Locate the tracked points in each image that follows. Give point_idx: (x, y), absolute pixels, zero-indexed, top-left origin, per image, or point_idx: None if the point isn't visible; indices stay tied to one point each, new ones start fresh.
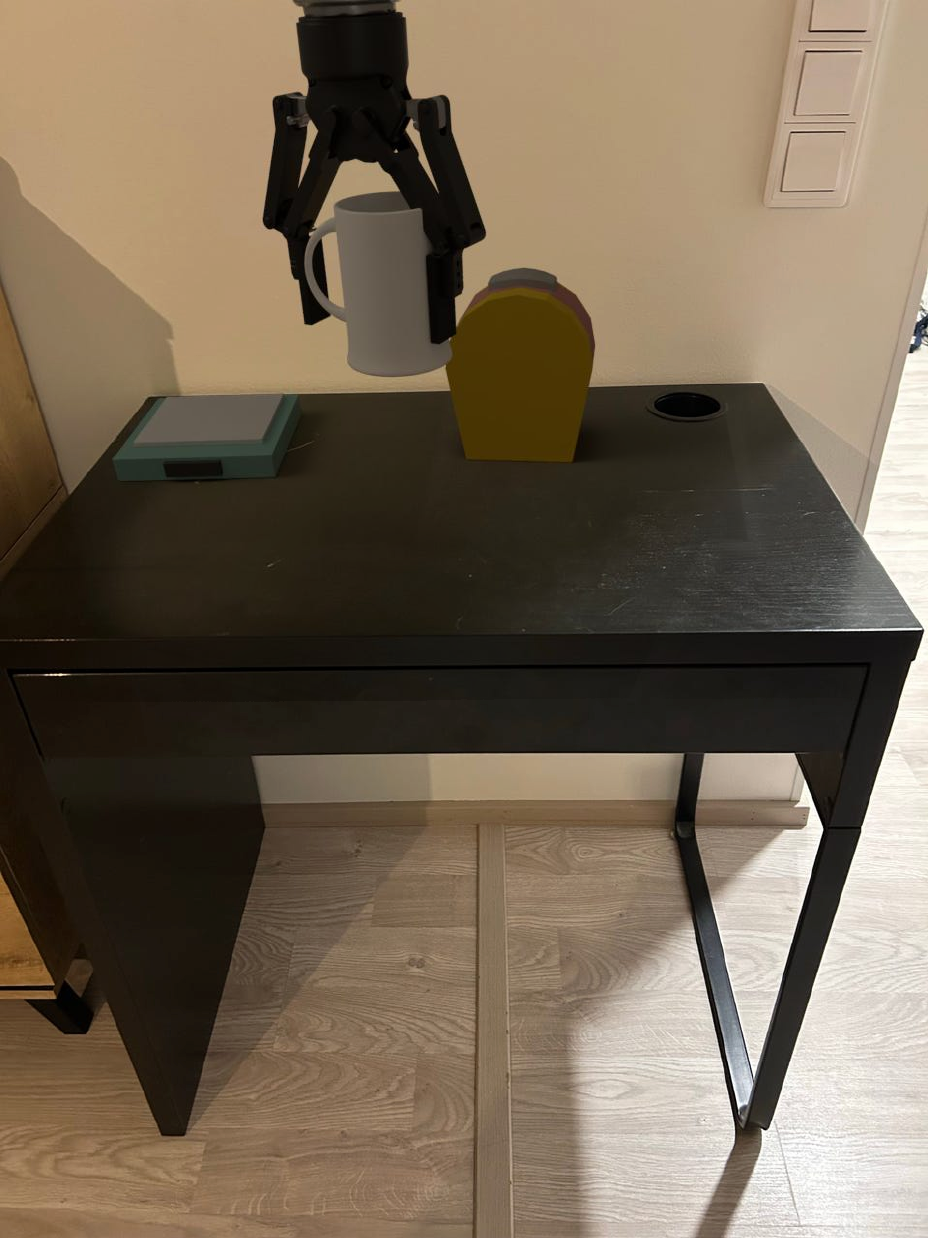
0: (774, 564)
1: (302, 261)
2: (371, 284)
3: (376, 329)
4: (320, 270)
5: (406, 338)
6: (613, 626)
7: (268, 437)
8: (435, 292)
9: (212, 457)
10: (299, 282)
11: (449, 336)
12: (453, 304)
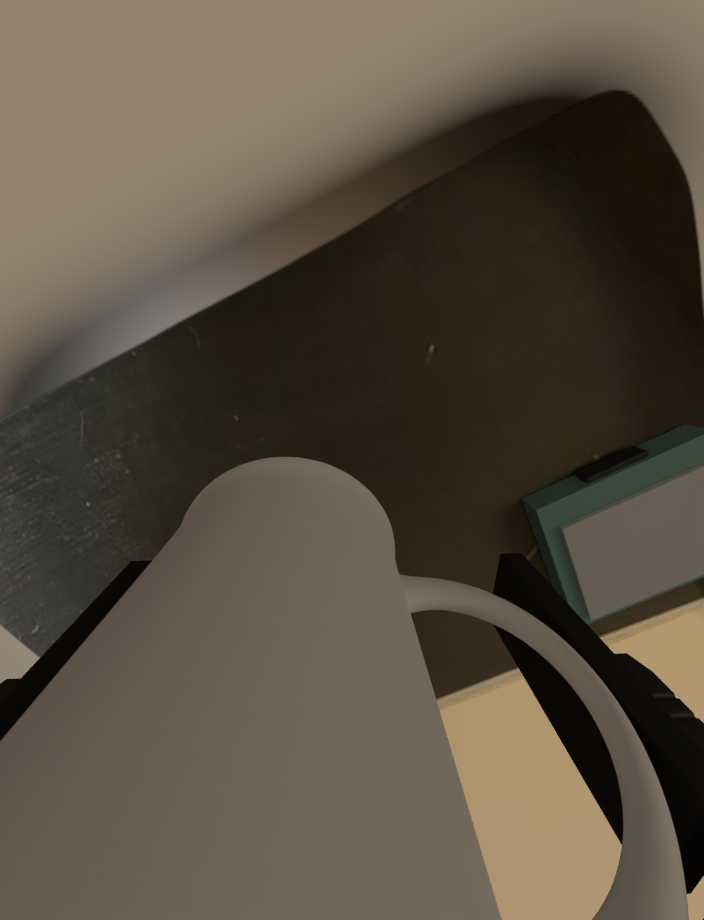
0: (9, 546)
1: (633, 709)
2: (186, 605)
3: (238, 510)
4: (563, 716)
5: (178, 530)
6: (66, 396)
7: (559, 540)
8: (23, 678)
9: (598, 481)
10: (595, 636)
11: None
12: None
